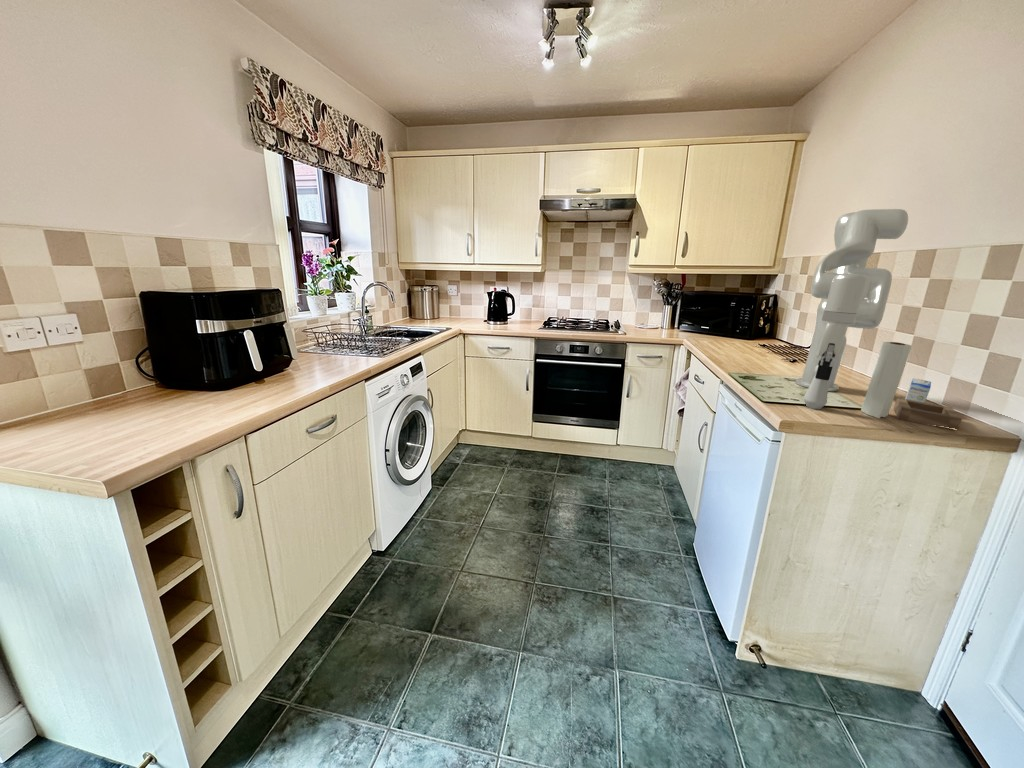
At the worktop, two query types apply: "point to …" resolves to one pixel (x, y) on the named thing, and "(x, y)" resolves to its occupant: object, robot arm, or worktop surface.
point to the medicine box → (918, 390)
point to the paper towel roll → (885, 378)
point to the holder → (926, 413)
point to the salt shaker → (817, 393)
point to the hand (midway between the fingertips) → (821, 376)
